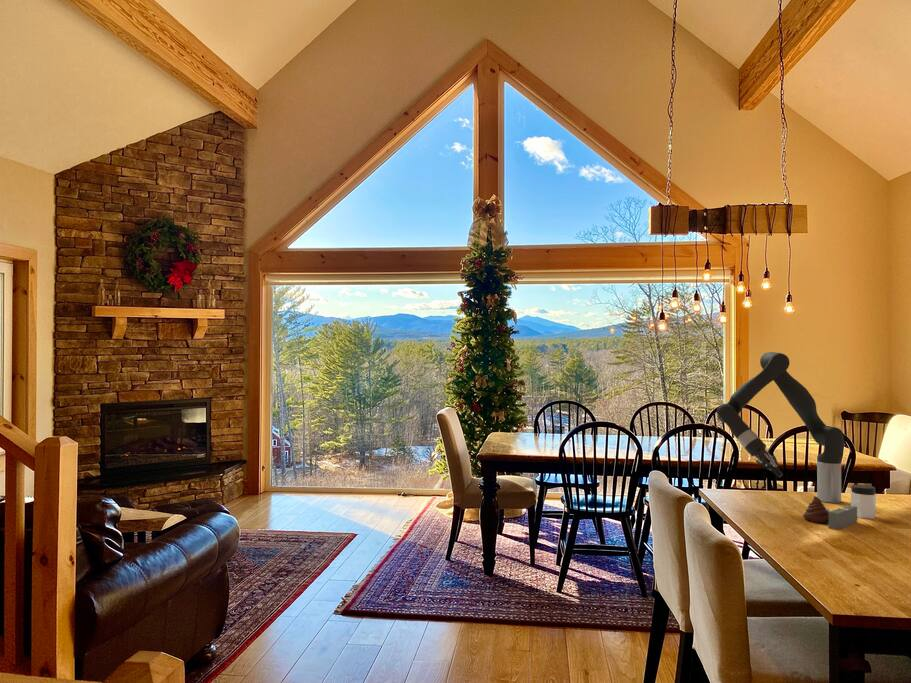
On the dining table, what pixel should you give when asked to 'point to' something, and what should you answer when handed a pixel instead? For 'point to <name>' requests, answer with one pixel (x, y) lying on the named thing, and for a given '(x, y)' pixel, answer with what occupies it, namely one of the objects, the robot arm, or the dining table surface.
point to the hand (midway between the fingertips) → (780, 476)
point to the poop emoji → (817, 512)
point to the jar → (864, 500)
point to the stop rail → (842, 517)
